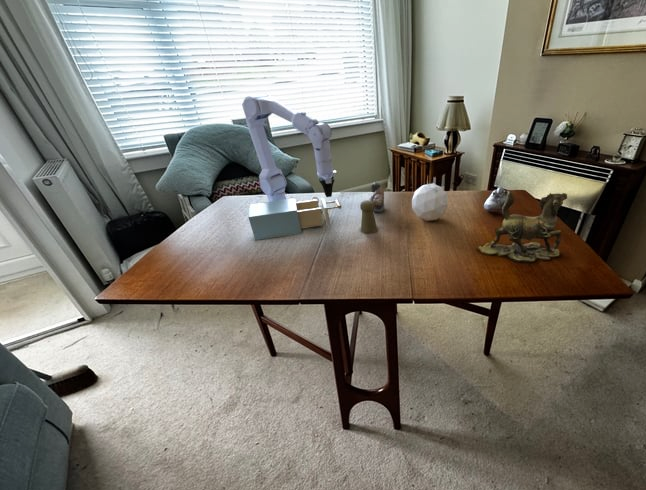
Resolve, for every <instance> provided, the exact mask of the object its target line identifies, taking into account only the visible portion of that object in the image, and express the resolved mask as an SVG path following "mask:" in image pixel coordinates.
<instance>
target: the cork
mask: <svg viewBox="0 0 646 490" xmlns="http://www.w3.org/2000/svg"><path fill="white" fill-rule="evenodd" d="M359 207H360V211H361V223H360V225H361V226H360V231H361V232H362V233H364V234H373V233H375V232H377V230H378V227H377V222H376V217H375V212H374V211H373V210H374V208H375V205H374V203H373V202H372V201H369V200H367V199H366V200H363V201H362V202H360V205H359Z"/></svg>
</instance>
